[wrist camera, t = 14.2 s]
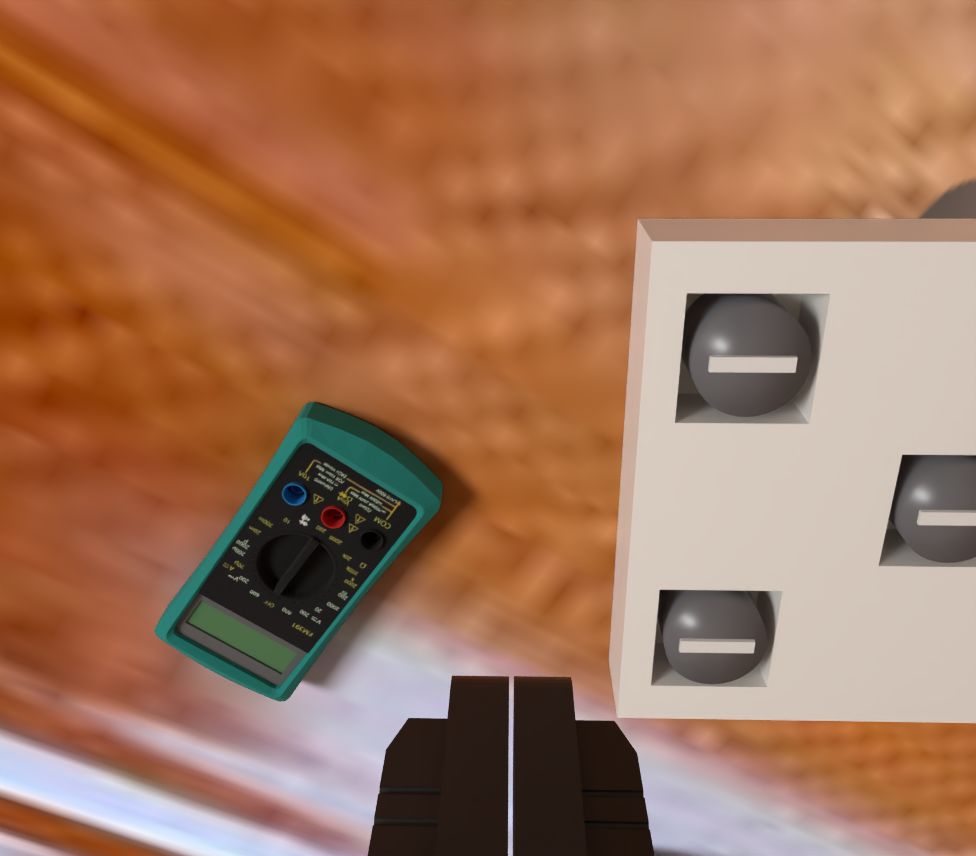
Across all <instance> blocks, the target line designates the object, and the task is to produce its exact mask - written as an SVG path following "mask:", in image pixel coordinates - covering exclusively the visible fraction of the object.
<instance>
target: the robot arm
mask: <svg viewBox="0 0 976 856" xmlns="http://www.w3.org/2000/svg"><path fill="white" fill-rule="evenodd" d="M508 735H509V677H503V676H452V680H451V689H450V699H449V710H448V719H431V718H408V720H407V721H406V723H405V724H404V725H403V727H402V728H401V730H400V731H399V732H398V734H397V735H396V737H395V738H394V739H393V741H392V742H391V744H390V745H389V746H388V748H387V749H386V754H385V760H384V765H383V771H382V777H381V783H380V793H379V794H378V800H377V805H376V811H375V817H374V825H373V828H372V834H371V840H370V846H369V851H368V856H508ZM648 823H649V822H648V816H647V810H646V804H645V798H644V797H643V786H642V780H641V774H640V768H639V762H638V756H637V753H636V751H635V750H634V748H633V747H632V745H631V744H630V743H629V741H628V740H627V738H626V737H625V735H624V734H623V732H622V731H621V730H620V728H619V727H618V725H617V724H616V722H615V721H584V720H575V711H574V699H573V688H572V680H571V677H523V676H514V729H513V856H654V851H653V845H652V839H651V833H650V830H649V825H648Z"/></svg>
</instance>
